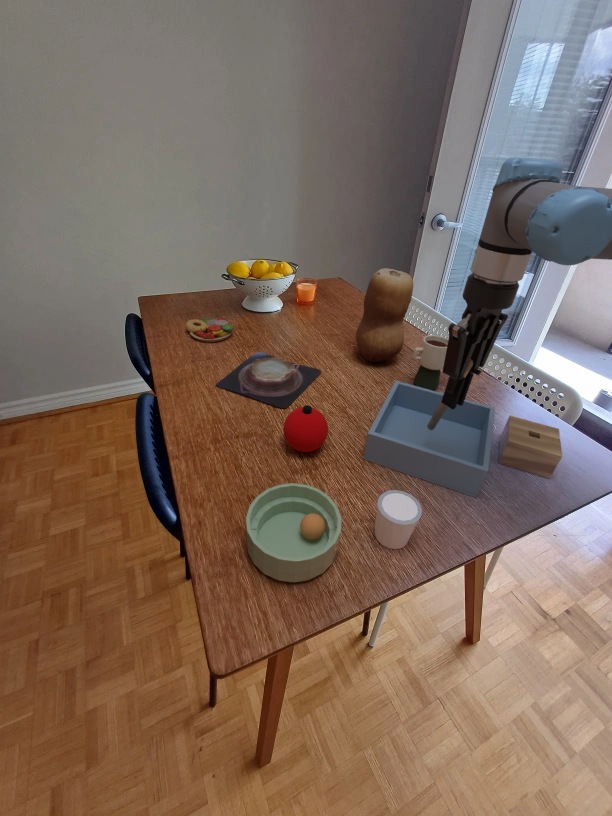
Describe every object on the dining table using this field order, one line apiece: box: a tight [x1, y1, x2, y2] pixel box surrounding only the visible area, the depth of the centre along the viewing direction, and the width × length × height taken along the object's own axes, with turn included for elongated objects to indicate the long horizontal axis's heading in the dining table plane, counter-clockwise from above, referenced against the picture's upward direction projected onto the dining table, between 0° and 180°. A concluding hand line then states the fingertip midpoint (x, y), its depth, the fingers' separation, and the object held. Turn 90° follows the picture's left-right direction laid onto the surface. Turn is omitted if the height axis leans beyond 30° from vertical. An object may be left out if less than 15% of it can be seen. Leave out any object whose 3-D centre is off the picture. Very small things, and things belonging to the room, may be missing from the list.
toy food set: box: [185, 317, 234, 343], centre depth 121 cm, size 13×13×3 cm
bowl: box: [245, 482, 343, 583], centre depth 61 cm, size 14×14×6 cm
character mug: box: [412, 334, 449, 391], centre depth 101 cm, size 11×7×13 cm, turn 99°
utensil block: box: [497, 415, 563, 480], centre depth 82 cm, size 10×10×6 cm
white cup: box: [374, 489, 423, 550], centre depth 63 cm, size 7×7×7 cm
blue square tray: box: [362, 380, 496, 499], centre depth 83 cm, size 22×22×7 cm
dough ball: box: [300, 513, 325, 540], centre depth 62 cm, size 4×4×4 cm
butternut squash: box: [355, 267, 414, 363], centre depth 108 cm, size 14×13×25 cm
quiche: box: [215, 351, 322, 409], centre depth 102 cm, size 21×20×4 cm
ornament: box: [282, 404, 329, 453], centre depth 79 cm, size 9×9×10 cm
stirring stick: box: [427, 359, 473, 430], centre depth 75 cm, size 2×2×18 cm
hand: (452, 403), depth 74 cm, fingers closed on stirring stick, 1 cm apart
